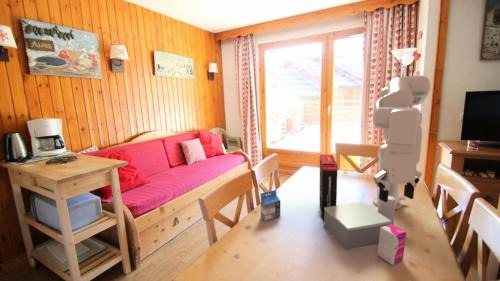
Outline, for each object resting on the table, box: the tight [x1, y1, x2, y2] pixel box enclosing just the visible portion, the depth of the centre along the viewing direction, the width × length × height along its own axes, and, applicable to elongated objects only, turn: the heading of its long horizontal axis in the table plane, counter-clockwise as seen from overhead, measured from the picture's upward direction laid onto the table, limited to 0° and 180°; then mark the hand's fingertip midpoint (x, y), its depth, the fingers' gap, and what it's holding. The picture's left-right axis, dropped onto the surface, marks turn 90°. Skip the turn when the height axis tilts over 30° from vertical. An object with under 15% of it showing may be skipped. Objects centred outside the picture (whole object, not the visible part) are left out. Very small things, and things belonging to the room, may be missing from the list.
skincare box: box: [377, 196, 396, 225], centre depth 106 cm, size 6×4×12 cm
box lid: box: [324, 201, 391, 231], centre depth 97 cm, size 18×17×1 cm
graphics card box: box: [319, 153, 338, 221], centre depth 115 cm, size 17×7×27 cm, turn 168°
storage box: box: [323, 211, 389, 251], centre depth 97 cm, size 18×16×8 cm
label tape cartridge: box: [260, 189, 281, 222], centre depth 112 cm, size 9×4×12 cm, turn 117°
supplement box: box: [377, 224, 407, 267], centre depth 82 cm, size 6×6×12 cm
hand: (395, 198), depth 79 cm, fingers open, 9 cm apart
